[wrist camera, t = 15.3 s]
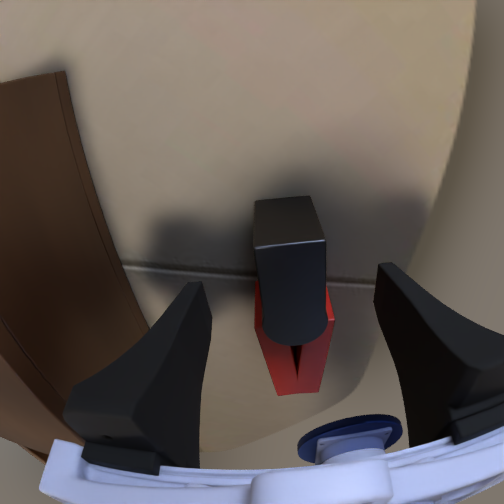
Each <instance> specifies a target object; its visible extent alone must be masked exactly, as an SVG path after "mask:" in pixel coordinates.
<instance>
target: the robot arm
mask: <svg viewBox="0 0 504 504" xmlns="http://www.w3.org/2000/svg"><path fill="white" fill-rule="evenodd" d="M373 303H374V307H375V311H376V314H377V318H378V322H379V325H380V327H381V330H382V332H383V335H384V337H385V340H386V342H387V345H388V348H389V350H390V353H391V355H392V358H393V361H394V363H395V367H396V370H397V373H398V377H399V382H400V386H401V390H402V395H403V401H404V406H405V413H406V419H407V427H408V436H409V448H408V449H405V450H401V451H396V452H392V453H387V454H385V449H384V445H385V443H386V441H387V439H388V437H389V436H390V434H391V432H392V427H386V428H381V429H376V430H371V431H365V432H360V433H354V434H348V435H341V436H334V437H326V438H320V439H318V441H317V450H316V458H315V466H306V467H294V468H282V469H260V470H259V469H258V470H217V469H200V463H199V462H200V461H199V426H200V404H201V390H202V383H203V378H204V372H205V367H206V362H207V357H208V352H209V346H210V341H211V330H212V315H211V312H210V308H209V305H208V301H207V298H206V294H205V291H204V287H203V283H202V281H198V282H188V283H187V284H186V285H185V286H184V288H183V289H182V290H181V291H180V293H179V294H178V295H177V297H176V298H175V299H174V301H173V302H172V303H171V305H170V306H169V307H168V308H167V310H166V311H165V312H164V313H163V315H162V316H161V317H160V318H159V320H158V321H157V322H156V323H155V324H154V325H153V326H152V327H151V329H150V330H149V331H148V332H147V333H146V334H145V335H144V336H143V337H142V338H141V339H140V340H139V341H138V342H137V343H136V344H135V345H133V346H132V347H131V348H130V349H129V350H128V351H126V352H125V353H124V354H123V355H121V356H120V357H119V358H118V359H116V360H115V361H114V362H112V363H111V364H110V365H108V366H107V367H105V368H104V369H102V370H101V371H99V372H98V373H96V374H94V375H93V376H91V377H89V378H87V379H85V380H83V381H82V382H80V383H78V384H76V385H74V386H73V388H72V390H71V393H70V395H69V398H68V400H67V403H66V405H65V408H64V410H63V417H64V419H65V421H66V422H67V424H68V425H69V426H70V427H71V428H72V429H73V430H75V431H76V432H77V433H78V434H79V435H80V436H81V437H82V438H83V439H84V440H86V441H85V445H84V447H82V446H80V445H78V444H75V443H72V442H68V441H64V440H60V439H54V442H53V445H52V447H51V450H50V453H49V456H48V459H47V463H46V466H45V469H44V472H43V475H42V479H41V482H40V485H39V490H40V491H41V492H43V493H45V494H46V495H48V496H50V497H52V498H54V499H56V500H57V501H59V502H61V503H63V504H455V503H457V502H460V501H462V500H464V499H467V498H469V497H471V496H473V495H475V494H478V493H480V492H482V491H484V490H486V489H488V488H490V487H492V486H494V485H496V484H498V483H499V482H501V481H503V480H504V335H502V334H499V333H497V332H494V331H492V330H489V329H487V328H485V327H483V326H480V325H478V324H477V323H474V322H473V321H471V320H469V319H467V318H465V317H463V316H462V315H460V314H458V313H457V312H455V311H454V310H452V309H451V308H449V307H447V306H446V305H444V304H443V303H441V302H440V301H439V300H437V299H436V298H435V297H433V296H432V295H431V294H429V293H428V292H427V291H426V290H425V289H423V288H422V287H421V286H420V285H418V284H417V283H416V282H415V281H414V280H412V279H411V278H410V277H409V276H408V275H407V274H405V273H404V272H403V271H402V270H401V269H399V268H398V267H397V266H396V265H395V264H393V263H392V262H389V263H381V264H378V269H377V277H376V285H375V293H374V300H373Z"/></svg>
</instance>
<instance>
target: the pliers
mask: <svg viewBox="0 0 504 504" xmlns="http://www.w3.org/2000/svg"><path fill="white" fill-rule="evenodd" d="M253 250H254V256H255V263H256V270H257V276H258V280H257V281H255V318H254V328H255V331H256V334H257V337H258V340H259V343H260V346H261V349H262V352H263V355H264V358H265V361H266V364H267V366H268V369H269V372H270V375H271V378H272V381H273V384H274V387H275V390H276V392H277V395H278V396H282V395H289V394H296V393H315V392H319V388H320V384H321V380H322V376H323V372H324V368H325V363H326V359H327V355H328V350H329V346H330V341H331V337H332V332H333V327H334V322H335V318H334V314H333V310H332V306H331V302H330V298H329V294H328V290H327V286H326V239H325V236H324V233H323V230H322V227H321V224H320V222H319V219H318V216H317V213H316V210H315V208H314V205H313V202H312V199H311V197H310V196H299V197H288V198H278V199H268V200H259V201H255V205H254V242H253Z"/></svg>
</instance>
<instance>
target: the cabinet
mask: <svg viewBox="0 0 504 504" xmlns="http://www.w3.org/2000/svg"><path fill="white" fill-rule="evenodd" d="M148 331H149V328H148V326H147V324H146V322H145V320H144V317H143V315H142V313H141V311H140V308H139V306H138V304H137V302H136V299H135V297H134V295H133V292H132V290H131V288H130V285H129V283H128V280H127V278H126V276H125V273H124V271H123V268H122V266H121V263H120V260H119V258H118V255H117V253H116V250H115V247H114V245H113V242H112V239H111V237H110V234H109V231H108V228H107V226H106V223H105V220H104V217H103V214H102V211H101V208H100V205H99V202H98V199H97V196H96V193H95V190H94V186H93V183H92V180H91V177H90V173H89V170H88V166H87V163H86V159H85V156H84V152H83V149H82V145H81V141H80V137H79V133H78V129H77V125H76V121H75V117H74V112H73V108H72V104H71V99H70V94H69V89H68V84H67V79H66V74H65V71H60V72H54V73H47V74H41V75H36V76H30V77H25V78H20V79H16V80H11V81H7V82H3V83H0V437H2V438H5V439H7V440H9V441H12V442H15V443H17V444H20V445H22V446H25V447H28V448H30V449H33V450H36V451H39V452H42V453H45V454H48V455H49V453H50V450H51V447H52V445H53V442H54V439H60V440H64V441H68V442H72V443H75V444H78V445H80V446H82V447H84V445H85V441H86V440H84V439H83V438H82V437H81V436H80V435H79V434H78V433H77V432H76V431H75V430H73V429H72V428H71V427H70V426H69V425H68V424H67V422H66V421H65V419H64V417H63V410H64V408H65V405H66V403H67V400H68V398H69V395H70V393H71V390H72V388H73V386H74V385H76V384H78V383H80V382H82V381H83V380H85V379H87V378H89V377H91V376H93V375H94V374H96V373H98V372H99V371H101V370H102V369H104V368H105V367H107V366H108V365H110V364H111V363H112V362H114V361H115V360H116V359H118V358H119V357H120V356H121V355H123V354H124V353H125V352H126V351H128V350H129V349H130V348H131V347H132V346H133V345H135V344H136V343H137V342H138V341H139V340H140V339H141V338H142V337H143V336H144V335H145V334H146V333H147V332H148Z"/></svg>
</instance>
